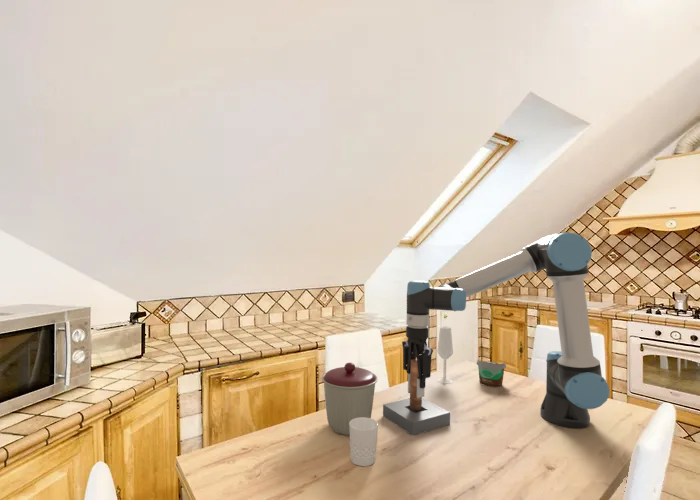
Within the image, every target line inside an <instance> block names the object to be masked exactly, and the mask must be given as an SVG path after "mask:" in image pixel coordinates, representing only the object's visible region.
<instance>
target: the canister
mask: <svg viewBox="0 0 700 500" xmlns="http://www.w3.org/2000/svg"><path fill="white" fill-rule="evenodd" d="M321 380H322V382H323V387H324V390H323V391H324V399H325V401H324V402H325V411H326V418H327V423H328V426H329V427H330V430H332V431H333V432H334V433H336V434H339V435H344V436H350V430H349V423H350V421H351V420H352V419H355V418H360V417H366V418H371V419H372V414H373V413H372V412H373V411H372V410H373V406H374V405H373V404H374V397H375V389H376V383H377V382H378V380H379V379H378V376H377V375H376V374H375V373H373V372H372V371H370V370H368V369H366V368H362V367H358V366H356V365H355V364H354V363H353V362H346V363H345V365H344V366H342V367H336V368H332V369H330V370H328V371H327V372H325V373H323V374H322V375H321Z"/></svg>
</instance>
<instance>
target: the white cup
mask: <svg viewBox="0 0 700 500" xmlns="http://www.w3.org/2000/svg"><path fill="white" fill-rule="evenodd" d="M378 427H379V423H378V421H376V420H375V419H374V418H372V417H371V418H366V417H360V418H355V419H352V420H351V421H350V423H349V430H350V435H349V447H350V448H349V449H350V462H352V464H354V465H356V466H358V467H359V466H360V467H368V466H372V465H373V464H374V463H375V462H376V451H377V445H378V443H377V442H378Z"/></svg>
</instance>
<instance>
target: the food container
mask: <svg viewBox="0 0 700 500" xmlns="http://www.w3.org/2000/svg"><path fill="white" fill-rule="evenodd" d="M476 365H477V367H478V377H479V383H480V384H481V385H483V386H485V387H489V388H500V387H502V386H503V380H504V373H505V369H506V368H507V365H506V362H503V363H498V362H494V361H485V360H479V359H477V360H476Z"/></svg>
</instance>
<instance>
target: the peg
mask: <svg viewBox="0 0 700 500" xmlns="http://www.w3.org/2000/svg"><path fill="white" fill-rule="evenodd" d="M417 377H419V374H418V364H417V358H416V359H411V371H410V393H409V398H410V408H411V409H415V410H419V409H421V408H422V398H423V397H420V398H417Z"/></svg>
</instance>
